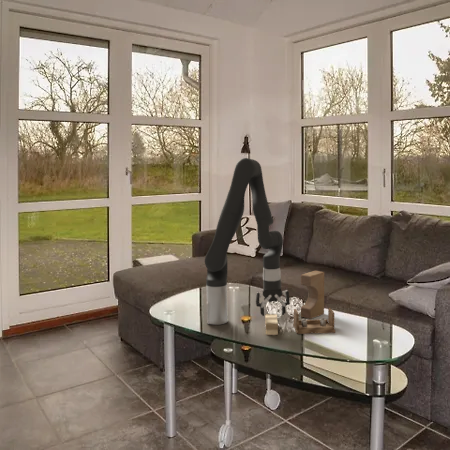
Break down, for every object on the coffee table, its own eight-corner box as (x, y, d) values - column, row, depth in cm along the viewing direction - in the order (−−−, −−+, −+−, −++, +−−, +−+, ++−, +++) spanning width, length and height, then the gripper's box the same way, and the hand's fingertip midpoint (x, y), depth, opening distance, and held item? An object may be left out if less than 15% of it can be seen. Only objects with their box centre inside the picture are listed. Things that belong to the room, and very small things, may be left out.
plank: (277, 335, 213) (277, 323, 212) (265, 335, 213) (265, 323, 213) (276, 325, 225) (276, 314, 224) (265, 325, 225) (265, 314, 225)
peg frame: (296, 333, 213) (297, 315, 212) (293, 325, 223) (293, 308, 222) (335, 332, 214) (335, 314, 213) (329, 324, 224) (329, 307, 222)
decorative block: (309, 319, 231) (310, 276, 228) (300, 316, 235) (300, 274, 232) (324, 314, 238) (325, 272, 235) (315, 311, 242) (315, 270, 239)
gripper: (256, 281, 212) (257, 318, 215) (290, 279, 213) (291, 316, 215) (254, 276, 220) (255, 313, 222) (287, 275, 220) (288, 311, 223)
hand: (273, 314), depth 219 cm, fingers open, 8 cm apart
